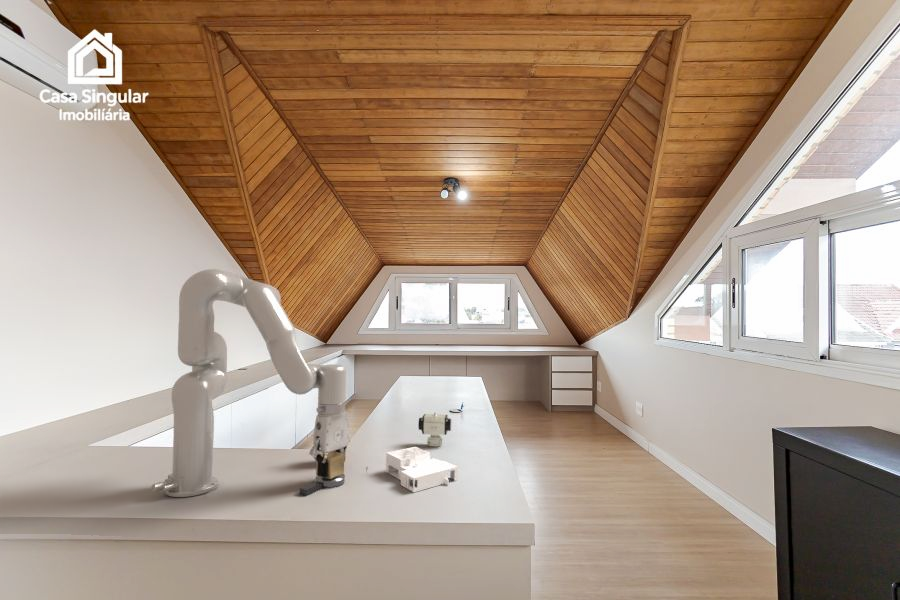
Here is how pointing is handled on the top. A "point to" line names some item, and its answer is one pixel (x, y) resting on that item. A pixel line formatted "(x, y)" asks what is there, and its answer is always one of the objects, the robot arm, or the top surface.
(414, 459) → the house
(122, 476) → the top surface
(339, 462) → the tan wooden cube
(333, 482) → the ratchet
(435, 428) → the pneumatic valve
